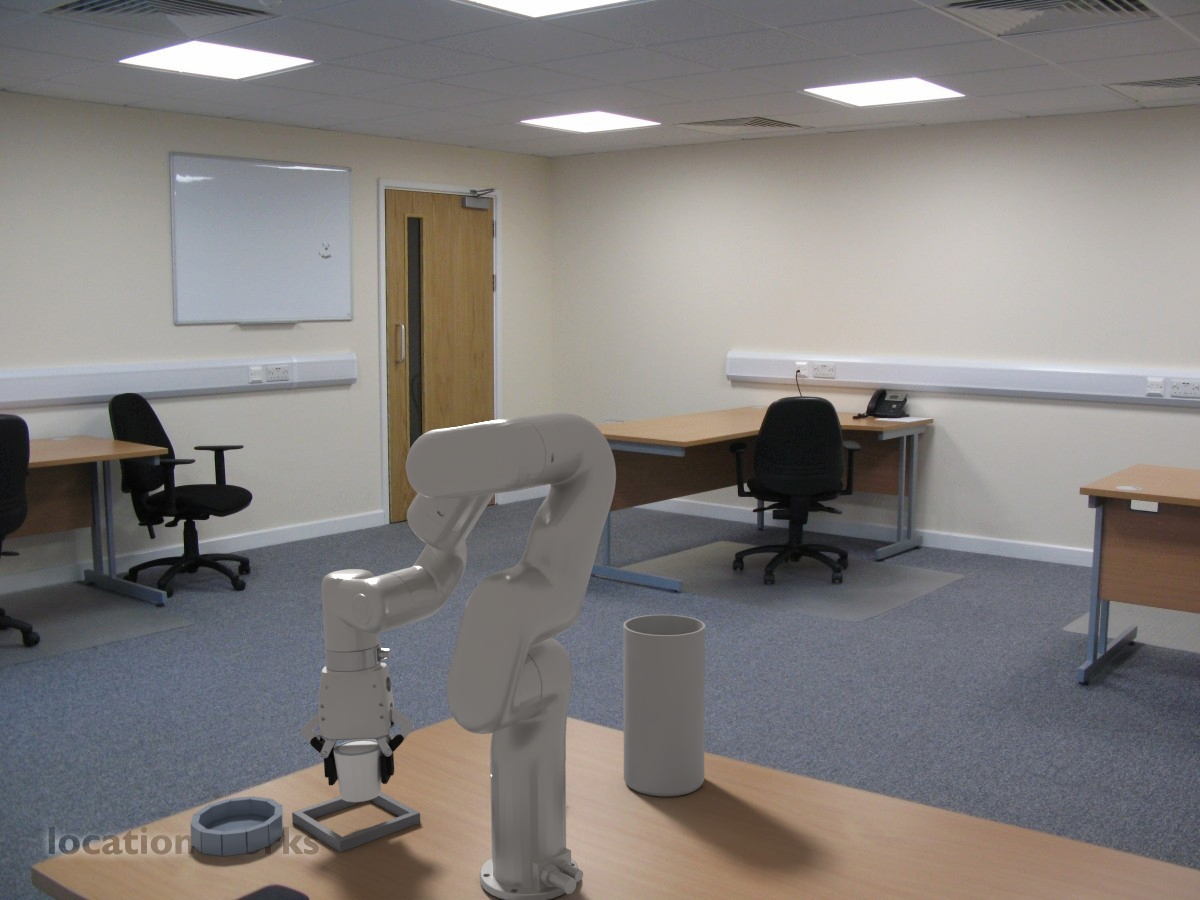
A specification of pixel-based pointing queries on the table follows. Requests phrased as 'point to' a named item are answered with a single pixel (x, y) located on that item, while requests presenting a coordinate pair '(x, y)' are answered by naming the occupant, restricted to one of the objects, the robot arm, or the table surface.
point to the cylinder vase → (664, 704)
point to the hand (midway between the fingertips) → (360, 780)
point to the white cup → (358, 769)
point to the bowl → (237, 826)
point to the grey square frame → (405, 820)
